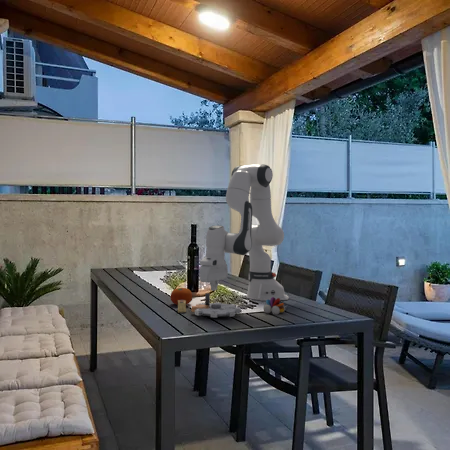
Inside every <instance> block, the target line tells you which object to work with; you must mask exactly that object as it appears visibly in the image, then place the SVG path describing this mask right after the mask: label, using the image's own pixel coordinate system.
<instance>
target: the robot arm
mask: <svg viewBox="0 0 450 450" xmlns="http://www.w3.org/2000/svg"><path fill="white" fill-rule="evenodd" d="M272 180H273V170H272V168H271V167H270V166H269V165H267V164H255V163H254V164H253V163H252V164H246V165H236V166H235V167H234V168H233V170H232V171H231V178H230V180H229V182H228V186H227V189H226V194H225V201H226V204H227V206H228V207H229V208H231V209H232V210H234V211H236V212H238V213H239V214H240V225H239V226H240V227H239V231H238V232H237V233H233V232H228V231H227V230H226V229H225V227H224V226H223V225H212V226H209V227H208V228H207V230H206V231H207V232H206V237H205V247H206V251H205V256H204V257H203V258H202V259H200V260H199V265H200V267H199V281H200V283H206V284H207V283H209V286H210V291H214V292H215V291H216V290H218V286H219V283H220V281H221V280H225V279H228V275H229V273H228V272H229V271H228V265H227V261H226V260H225V257H226V256H225V254H236V255H240V256H246V255H247V254H248V256H249V271H248V281H249V282H248V288H247V292H246V295H245V296H246V298H247V299H250V300H254V301H255V300H257V301H262V302H263V301H264V302H266V300H271V298H272V297H274V298H275V299H277V298H279V299H280V301H288V300H289V299H290V298H289V297H290V296H288V295H287V294H285V289H284V286H283V285H282V284H281V283H280V282H278V281H277V280H276V279H275V278H276V277H277V273H276V272H273V271H271V267H272V266H271V265H272V262H271V261H272V259H271V256H270V254H268V253H267V252H266V251H264V248H263V247H265V246H266V247H274V246H279V245H281V244H282V243H283V242H284V238H285V232H284V230H283V228H282V227H281V226H280V225H278V223H277V222H276V221H275V219H274V216H273V212H272V193H271V186H270V183H271V182H272ZM253 217H254V218H255V219H257V222H258V224H253Z"/></svg>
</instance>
